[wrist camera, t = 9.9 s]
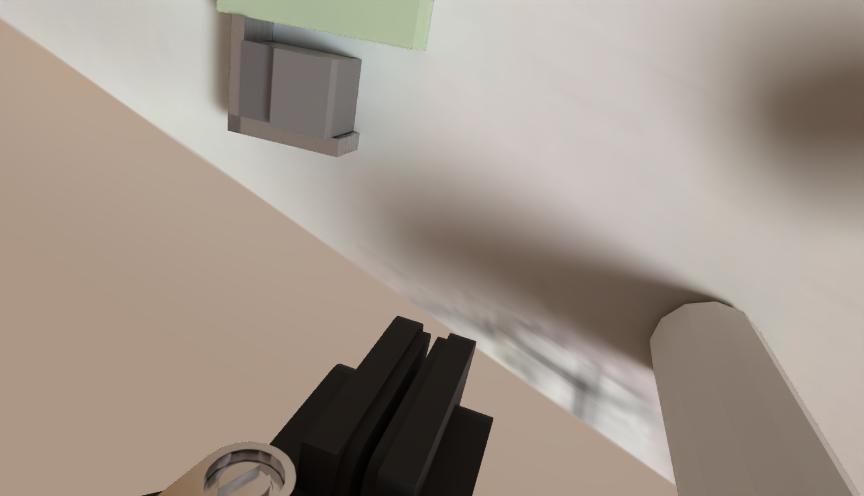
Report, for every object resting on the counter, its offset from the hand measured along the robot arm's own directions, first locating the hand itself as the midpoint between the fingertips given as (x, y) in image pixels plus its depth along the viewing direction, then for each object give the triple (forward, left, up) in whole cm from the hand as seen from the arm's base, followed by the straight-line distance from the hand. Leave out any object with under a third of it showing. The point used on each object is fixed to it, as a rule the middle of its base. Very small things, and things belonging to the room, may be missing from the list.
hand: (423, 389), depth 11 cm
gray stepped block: (-1, -17, -29) cm, 33 cm away
